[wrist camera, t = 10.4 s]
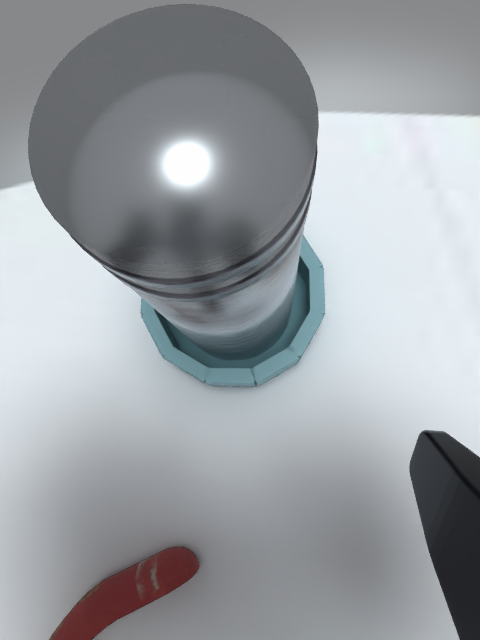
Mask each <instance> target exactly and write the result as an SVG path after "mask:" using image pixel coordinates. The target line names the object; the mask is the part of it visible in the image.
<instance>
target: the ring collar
mask: <svg viewBox="0 0 480 640" xmlns="http://www.w3.org/2000/svg"><path fill="white" fill-rule="evenodd" d="M324 314H325V298H324V267H323V265H322V263H321V262H320V260H319V258H318V257H317V255H316V254H315V252H314V251H313V249H312V248H311V246H310V245H309V243H308V242H307V240H306V238H305V237H304V235H303V236H302V243H301V249H300V256H299V262H298V269H297V275H296V282H295V288H294V295H293V301H292V308H291V314H290V318H289V322H288V325H287V327H286V330H285V331H284V333H283V335H282V336H281V338H280V339H279V340H278V342H277V343H276V344H275V345H274V346H273V347H271V348H270V349H269V350H267V351H266V352H264V353H262V354H261V355H259V356H256V357H254V358H250V359H247V360H240V361H230V360H223V359H220V358H216V357H214V356H211V355H209V354H208V353H206V352H204V351H203V350H202V349H200V348H199V347H198V346H197V345H196V344H194V343H193V342H192V341H191V340H190V339H189V338H188V337H186V336H185V335H184V334H183V333H182V332H181V331H180V330H178V329H177V328H176V327H175V326H174V325H173V324H172V323H170V322H169V321H168V320H167V319H166V318H165V317H164V316H163V315H161V314H160V313H159V312H158V311H157V310H156V309H155V308H153V307H152V306H151V305H150V304H149V303H148V302H147V301H145V300H144V299H143V298H142V300H141V315H142V316H141V317H142V319H143V321H144V323H145V325H146V327H147V329H148V330H149V332H150V334H151V336H152V338H153V340H154V342H155V344H156V346H157V348H158V350H159V352H160V354H161V356H162V357H163V358H164V359H166V360H168V361H169V362H171V363H173V364H174V365H176V366H178V367H179V368H181V369H183V370H184V371H186V372H187V373H189V374H191V375H192V376H194V377H196V378H197V379H199V380H201V381H202V382H204V383H206V384H208V385H211V386H232V387H239V386H256V384H257V385H258V386H259V385H261V384H263V383H264V382H266V381H268V380H270V379H272V378H274V377H276V376H278V375H279V374H281V373H282V372H284V371H285V370H287V369H289V368H291V367H292V366H294V365H296V364H297V362H299V360H300V358H301V357H302V355H303V353H304V351H305V350H306V348H307V346H308V344H309V343H310V341H311V339H312V337H313V336H314V334H315V332H316V330H317V329H318V327H319V325H320V323H321V321H322V319H323V317H324Z"/></svg>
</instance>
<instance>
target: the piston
mask: <svg viewBox="0 0 480 640" xmlns="http://www.w3.org/2000/svg"><path fill="white" fill-rule="evenodd" d="M318 127H319V124H318V107H317V102H316V97H315V92H314V89H313V86H312V84H311V81H310V78H309V76H308V74H307V72H306V70H305V68H304V66H303V65H302V63H301V61H300V60H299V58H298V57H297V56H296V54H295V53H294V52H293V50H292V49H291V48H290V47H289V46H288V45H287V44H286V43H285V42H284V41H283V40H282V39H281V38H280V37H279V36H277V35H276V34H275V33H274V32H272V31H271V30H270V29H268V28H267V27H266V26H264V25H262V24H260V23H258V22H257V21H255V20H253V19H252V18H249V17H247V16H244V15H242V14H239V13H237V12H234V11H230V10H227V9H223V8H219V7H213V6H207V5H196V4H179V5H165V6H160V7H155V8H149V9H145V10H142V11H138V12H135V13H132V14H129V15H127V16H124V17H122V18H119V19H117V20H115V21H113V22H111V23H109V24H107V25H106V26H104V27H102V28H100V29H98V30H97V31H95V32H94V33H93V34H91V35H90V36H88V37H87V38H85V39H84V40H83V41H82V42H81V43H80V44H78V45H77V46H76V47H75V48H74V49H73V50H71V51H70V52H69V53H68V55H67V56H66V57H65V58H64V59H63V60H62V61H61V62H60V63H59V65H58V66H57V67H56V69H55V70H54V71H53V73H52V74H51V75H50V77H49V79H48V80H47V82H46V84H45V86H44V87H43V89H42V91H41V93H40V96H39V98H38V101H37V103H36V105H35V108H34V112H33V116H32V119H31V123H30V130H29V138H28V153H29V162H30V168H31V174H32V177H33V180H34V183H35V186H36V189H37V191H38V193H39V195H40V197H41V199H42V201H43V203H44V205H45V206H46V208H47V209H48V210H49V212H50V213H51V215H52V216H53V217H54V219H55V220H56V221H57V222H58V223H59V224H60V225H61V226H62V227H63V228H64V229H65V230H66V231H67V232H68V233H69V234H70V236H71V237H72V238H73V239H74V240H75V241H76V242H77V243H78V244H79V246H80V247H81V248H82V249H83V250H84V251H86V252H87V253H88V254H89V255H90V256H91V257H93V258H94V259H95V260H96V261H98V262H99V263H100V264H101V265H102V266H103V267H104V268H105V269H107V270H108V271H109V272H110V273H111V274H112V275H114V276H115V277H116V278H118V279H119V280H120V281H121V282H123V283H124V284H126V285H127V286H129V287H131V288H132V289H133V290H134V291H135V292H136V293H137V294H139V295H140V296H141V297H142V298H143V299H144V300H145V301H147V302H148V303H149V304H150V305H151V306H152V307H153V308H155V309H156V310H157V311H158V312H159V313H160V314H161V315H163V316H164V317H165V318H166V319H167V320H168V321H169V322H170V323H172V324H173V325H174V326H175V327H176V328H177V329H178V330H180V331H181V332H182V333H183V334H184V335H185V336H186V337H188V338H189V339H190V340H191V341H192V342H193V343H194V344H196V345H197V346H198V347H199V348H200V349H202V350H203V351H204V352H206V353H208V354H209V355H211V356H214V357H216V358H220V359H223V360H230V361H240V360H247V359H250V358H254V357H256V356H259V355H261V354H262V353H264V352H266V351H267V350H269V349H270V348H271V347H273V346H274V345H275V344H276V343H277V342H278V340H279V339H280V338H281V336H282V335H283V333H284V331H285V330H286V327H287V325H288V322H289V318H290V314H291V308H292V301H293V295H294V288H295V282H296V275H297V269H298V262H299V256H300V249H301V243H302V236H303V230H304V224H305V221H306V218H307V214H308V210H309V206H310V200H311V193H312V186H313V181H314V175H315V169H316V160H317V136H318Z"/></svg>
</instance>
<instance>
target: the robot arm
mask: <svg viewBox="0 0 480 640" xmlns="http://www.w3.org/2000/svg"><path fill="white" fill-rule="evenodd" d="M410 476H411V480H412V484H413V489H414V493H415V497H416V501H417V505H418V509H419V513H420V518H421V522H422V526H423V530H424V534H425V538H426V542H427V546H428V549H429V553H430V556H431V559H432V562H433V565H434V568H435V571H436V574H437V577H438V579H439V582H440V585H441V588H442V591H443V593H444V596H445V599H446V602H447V605H448V608H449V610H450V613H451V616H452V619H453V622H454V625H455V627H456V630H457V633H458V636H459V639H460V640H480V457H479V456H477V455H476V454H475V453H473V452H472V451H470V450H469V449H468V448H466V447H465V446H464V445H462V444H461V443H460V442H458V441H457V440H456V439H454V438H453V437H451V436H450V435H449V434H447V433H446V432H443V431H432V430H424V431H422V432H421V433H420V435H419V437H418V440H417V443H416V446H415V449H414V451H413V454H412V457H411V460H410Z"/></svg>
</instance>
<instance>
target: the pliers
mask: <svg viewBox="0 0 480 640" xmlns="http://www.w3.org/2000/svg"><path fill="white" fill-rule="evenodd" d="M199 567H200V565H199V562H198V560H197V558H196V556H195V555H194V554H193V552H191V551H190V550H188V549H186V548H182V547H172V548H168V549H165V550H163V551H161V552H159V553H157V554H155V555H153V556H151V557H149V558H147V559H145V560H143V561H141V562H139V563H137V564H135V565H133V566H131V567H129V568H127V569H125V570H123V571H121V572H119V573H117V574H115V575H113V576H111V577H109V578H107V579H105V580H103V581H102V582H100V583H99V584H98V585H97V586H95V587H94V588H93V589H92V590H91V591H89V592H88V593H87V594H86V595H85V596H84V597H83V598H82V599H81V600H80V601H79V602H78V603H77V605H76V606H75V607H74V608H73V609H72V610H71V611H70V613H69V614H68V615H67V616H66V617H65V618H64V620H63V621H62V622H61V624H60V625H59V626H58V628H57V629H56V630H55V632H54V633H53V634H52V636H51V638H50V639H49V640H92V639H93V638H94V637H95V636H96V635H97V634H99V633H100V632H101V631H102V630H103V629H105V628H106V627H107V626H109V625H110V624H112V623H113V622H114V621H116V620H117V619H120V618H122V617H123V616H125V615H127V614H129V613H131V612H133V611H135V610H137V609H139V608H141V607H143V606H145V605H147V604H149V603H151V602H153V601H155V600H157V599H158V598H160V597H162V596H164V595H166V594H168V593H170V592H171V591H173V590H175V589H176V588H178V587H179V586H181V585H182V584H184V583H185V582H187V581H188V580H189V579H190V578H192V577H193V576H194V575H195V574H196V572H197V571H198V569H199Z"/></svg>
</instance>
